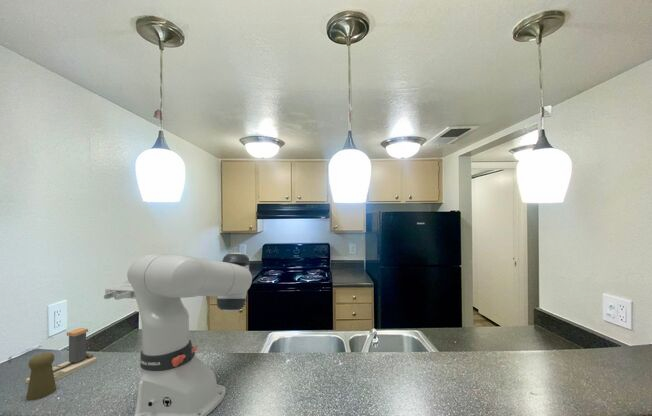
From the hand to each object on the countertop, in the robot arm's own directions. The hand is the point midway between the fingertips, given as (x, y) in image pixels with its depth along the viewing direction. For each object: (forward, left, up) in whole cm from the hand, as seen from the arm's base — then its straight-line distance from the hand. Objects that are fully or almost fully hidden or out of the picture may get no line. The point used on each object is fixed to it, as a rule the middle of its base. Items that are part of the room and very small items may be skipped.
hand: (110, 297), depth 106 cm
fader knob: (0, +11, -18) cm, 21 cm away
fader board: (0, +15, -20) cm, 25 cm away
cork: (-8, +25, -20) cm, 33 cm away
